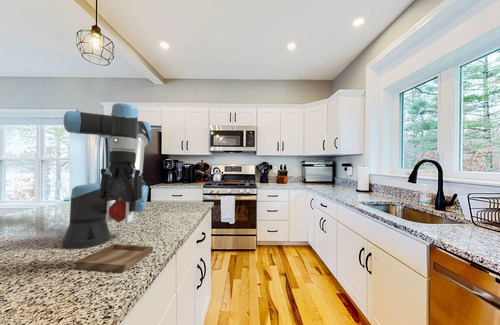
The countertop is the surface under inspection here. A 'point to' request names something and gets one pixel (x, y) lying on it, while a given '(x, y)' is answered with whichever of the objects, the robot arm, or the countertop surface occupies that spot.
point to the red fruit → (118, 210)
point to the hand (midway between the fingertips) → (119, 220)
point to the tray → (115, 258)
